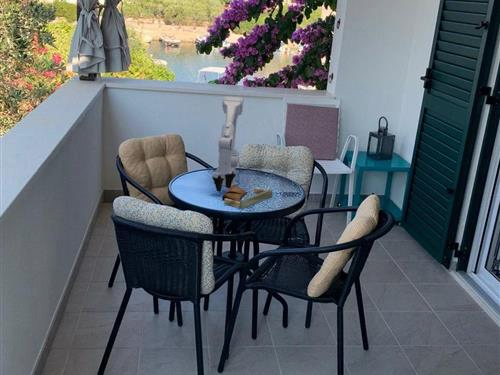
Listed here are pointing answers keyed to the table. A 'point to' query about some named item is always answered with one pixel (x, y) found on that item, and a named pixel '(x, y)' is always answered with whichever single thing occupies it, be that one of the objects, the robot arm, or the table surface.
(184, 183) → the table surface
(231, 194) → the sunglasses case
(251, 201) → the dock
